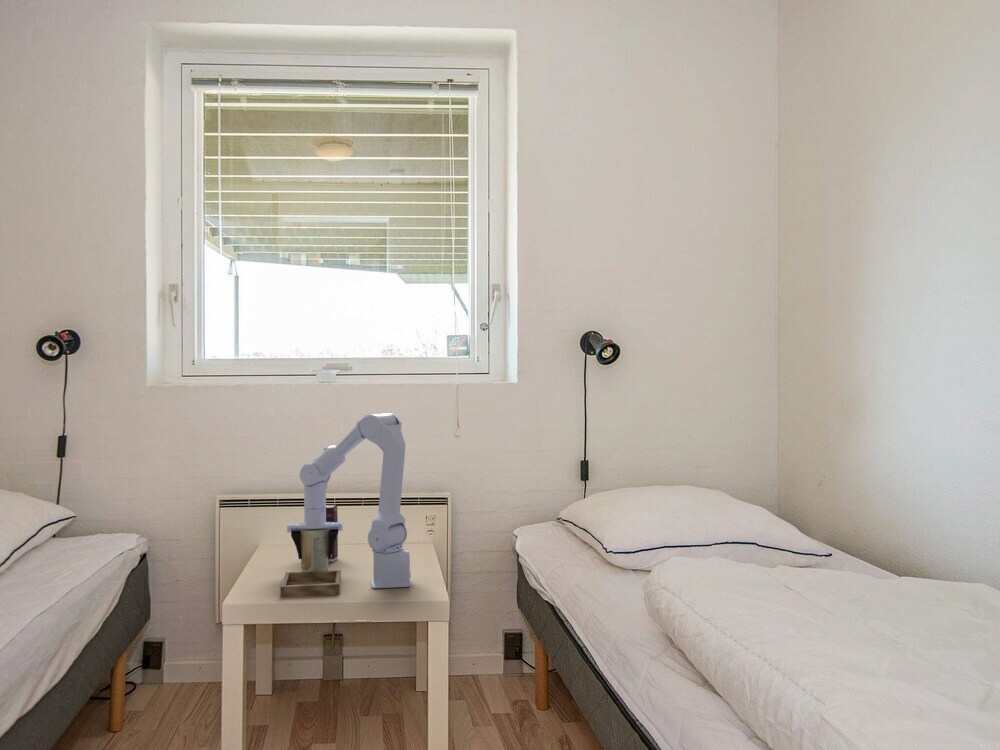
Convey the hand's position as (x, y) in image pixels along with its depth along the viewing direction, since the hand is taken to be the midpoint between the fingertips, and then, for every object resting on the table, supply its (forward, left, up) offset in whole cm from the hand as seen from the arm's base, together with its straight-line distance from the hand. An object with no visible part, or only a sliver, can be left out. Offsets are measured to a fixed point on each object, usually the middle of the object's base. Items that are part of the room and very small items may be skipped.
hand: (315, 557), depth 208 cm
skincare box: (0, 0, -4) cm, 5 cm away
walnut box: (0, +14, -4) cm, 15 cm away
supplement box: (-1, -16, -5) cm, 17 cm away
